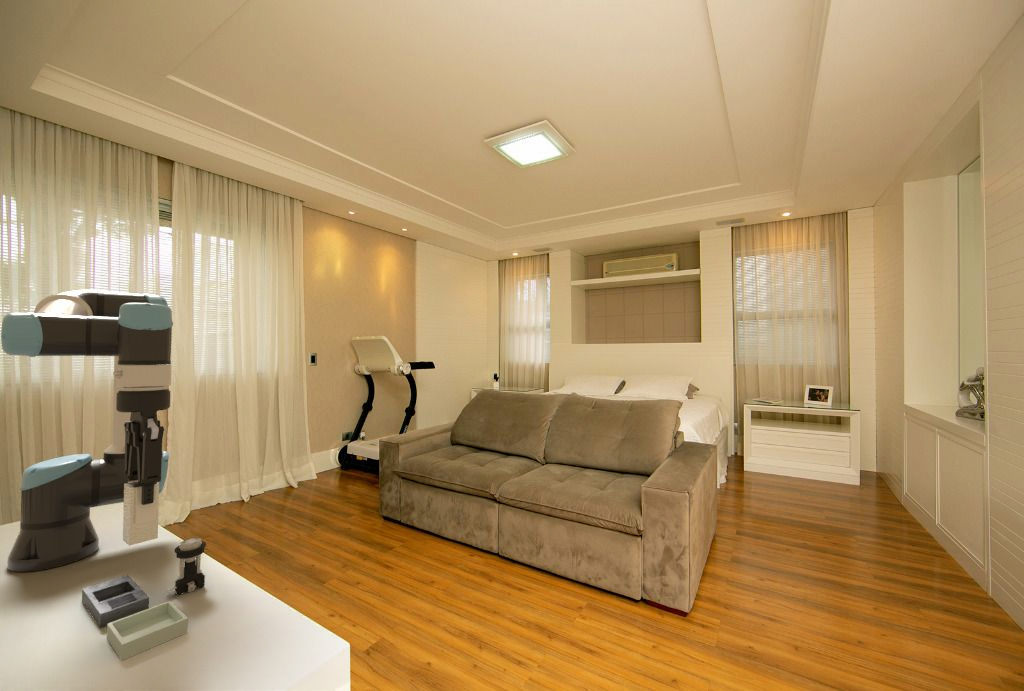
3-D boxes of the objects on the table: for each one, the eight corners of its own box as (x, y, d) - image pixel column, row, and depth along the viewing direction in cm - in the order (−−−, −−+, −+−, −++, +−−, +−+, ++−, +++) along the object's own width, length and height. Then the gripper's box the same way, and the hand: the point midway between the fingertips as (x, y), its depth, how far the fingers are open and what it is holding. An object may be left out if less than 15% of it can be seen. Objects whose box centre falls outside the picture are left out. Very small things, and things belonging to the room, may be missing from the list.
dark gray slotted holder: (81, 601, 88) (82, 588, 88) (127, 586, 93) (127, 574, 93) (100, 628, 79) (100, 613, 79) (148, 610, 85) (149, 596, 85)
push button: (169, 602, 88) (170, 551, 88) (162, 592, 91) (163, 544, 91) (208, 588, 93) (209, 541, 93) (200, 580, 96) (201, 534, 96)
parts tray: (106, 638, 77) (107, 623, 77) (169, 613, 84) (170, 600, 84) (121, 660, 71) (122, 644, 71) (187, 632, 79) (187, 618, 79)
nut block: (122, 540, 79) (124, 483, 79) (150, 532, 82) (152, 478, 82) (129, 545, 77) (130, 487, 77) (157, 538, 80) (159, 482, 80)
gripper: (104, 387, 82) (101, 514, 82) (131, 392, 72) (127, 537, 71) (155, 385, 88) (152, 504, 88) (186, 389, 78) (183, 523, 77)
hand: (141, 518), depth 79 cm, fingers closed on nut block, 4 cm apart
